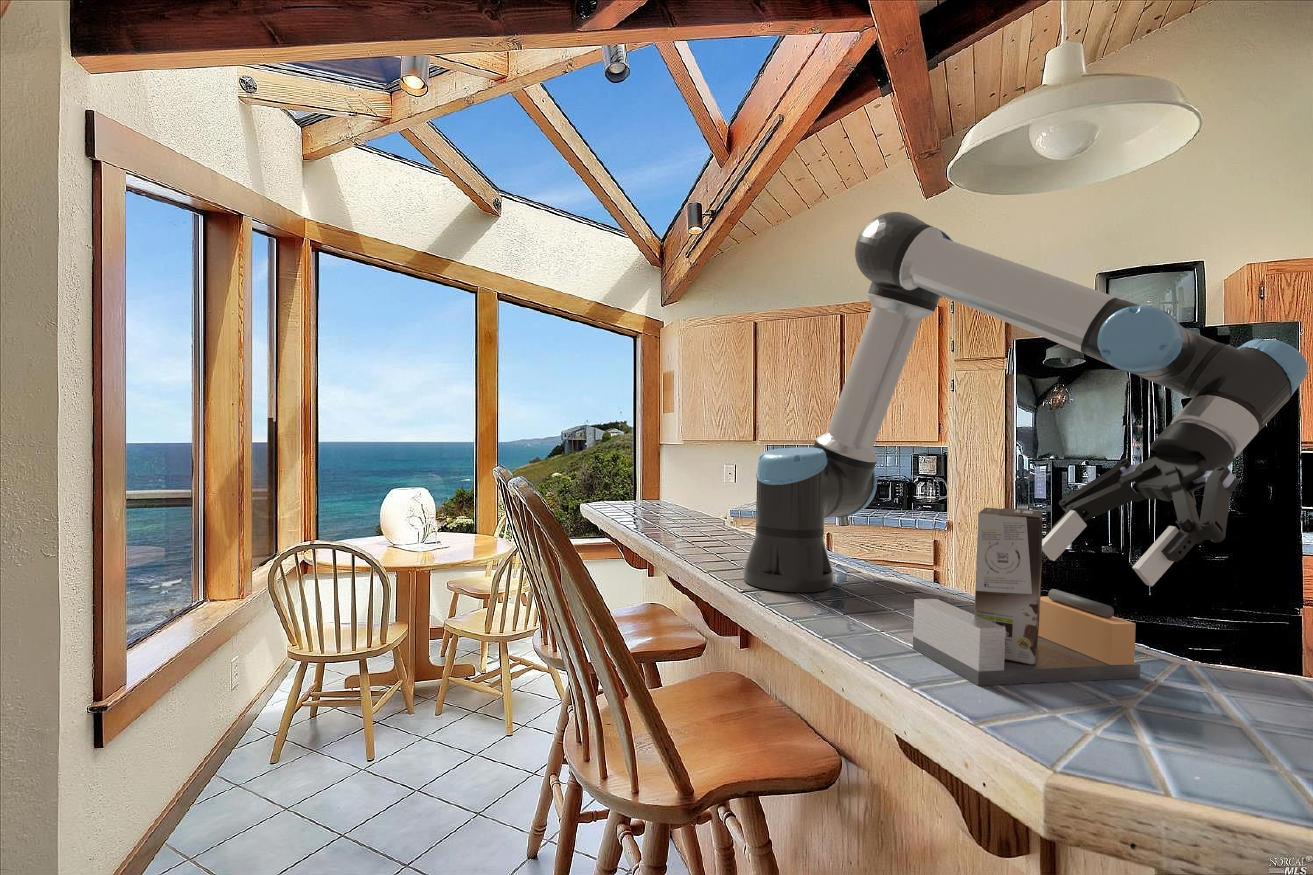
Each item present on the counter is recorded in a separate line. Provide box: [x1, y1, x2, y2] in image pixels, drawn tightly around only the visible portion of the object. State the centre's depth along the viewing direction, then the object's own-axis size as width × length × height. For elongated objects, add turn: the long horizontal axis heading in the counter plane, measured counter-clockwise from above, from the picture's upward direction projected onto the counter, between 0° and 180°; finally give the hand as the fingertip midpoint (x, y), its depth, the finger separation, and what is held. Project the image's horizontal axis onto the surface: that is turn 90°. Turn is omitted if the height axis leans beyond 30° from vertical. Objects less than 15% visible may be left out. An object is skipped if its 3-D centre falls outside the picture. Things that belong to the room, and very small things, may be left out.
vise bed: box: [912, 598, 1141, 687], centre depth 77 cm, size 12×20×6 cm, turn 101°
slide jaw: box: [1038, 588, 1136, 665], centre depth 78 cm, size 12×3×6 cm, turn 11°
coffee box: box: [974, 507, 1044, 665], centre depth 76 cm, size 9×6×16 cm
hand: (1089, 564), depth 78 cm, fingers open, 13 cm apart
